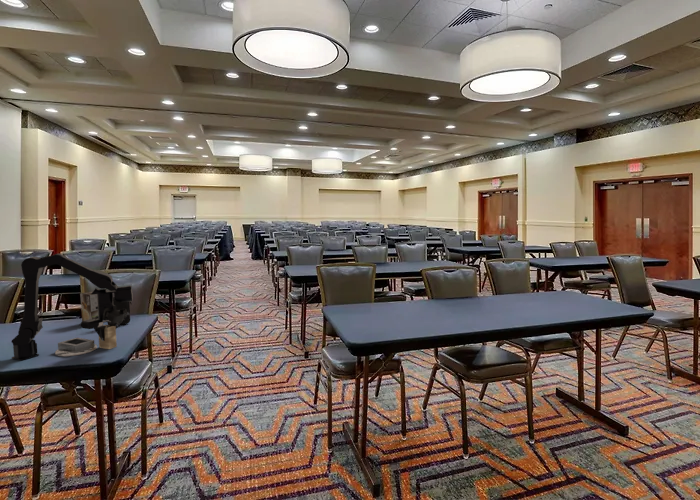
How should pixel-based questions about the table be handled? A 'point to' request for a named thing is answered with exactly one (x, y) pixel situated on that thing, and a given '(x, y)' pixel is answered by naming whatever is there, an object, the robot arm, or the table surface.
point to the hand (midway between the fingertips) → (107, 339)
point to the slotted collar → (75, 347)
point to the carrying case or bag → (122, 306)
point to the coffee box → (89, 306)
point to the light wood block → (108, 338)
